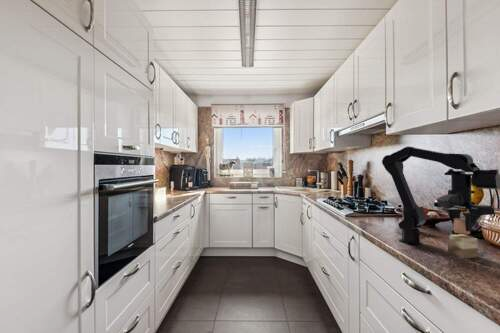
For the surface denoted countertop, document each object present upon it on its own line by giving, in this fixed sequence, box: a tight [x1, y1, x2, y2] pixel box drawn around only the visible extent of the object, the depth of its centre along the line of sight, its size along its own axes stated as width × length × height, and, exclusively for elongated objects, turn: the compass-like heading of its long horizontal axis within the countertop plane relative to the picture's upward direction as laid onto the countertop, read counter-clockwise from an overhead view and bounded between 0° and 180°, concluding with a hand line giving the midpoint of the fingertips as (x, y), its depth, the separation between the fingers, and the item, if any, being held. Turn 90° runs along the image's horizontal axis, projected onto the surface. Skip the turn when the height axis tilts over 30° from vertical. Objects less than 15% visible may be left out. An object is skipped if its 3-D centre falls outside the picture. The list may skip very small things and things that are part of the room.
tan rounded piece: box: [453, 217, 471, 235], centre depth 93 cm, size 5×5×5 cm
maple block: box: [449, 233, 478, 249], centre depth 93 cm, size 6×6×4 cm
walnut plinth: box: [447, 243, 479, 259], centre depth 93 cm, size 6×6×4 cm
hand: (461, 229), depth 93 cm, fingers closed on tan rounded piece, 4 cm apart
